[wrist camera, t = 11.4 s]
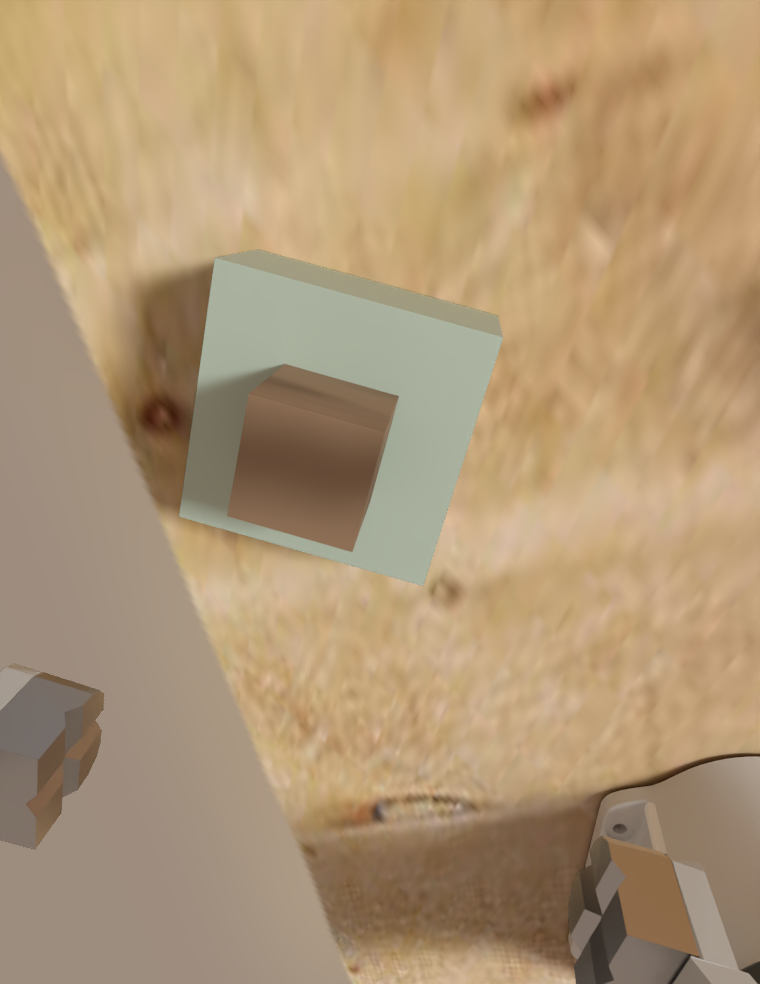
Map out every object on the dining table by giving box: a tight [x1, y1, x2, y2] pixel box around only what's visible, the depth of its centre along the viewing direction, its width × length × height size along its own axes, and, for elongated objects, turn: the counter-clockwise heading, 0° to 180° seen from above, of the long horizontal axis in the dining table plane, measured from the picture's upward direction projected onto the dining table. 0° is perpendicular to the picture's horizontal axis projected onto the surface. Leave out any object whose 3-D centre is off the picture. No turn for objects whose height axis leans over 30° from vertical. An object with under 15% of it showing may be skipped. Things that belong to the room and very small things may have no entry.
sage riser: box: [179, 250, 503, 586], centre depth 32 cm, size 12×12×6 cm
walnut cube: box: [227, 364, 399, 552], centre depth 27 cm, size 5×5×5 cm
